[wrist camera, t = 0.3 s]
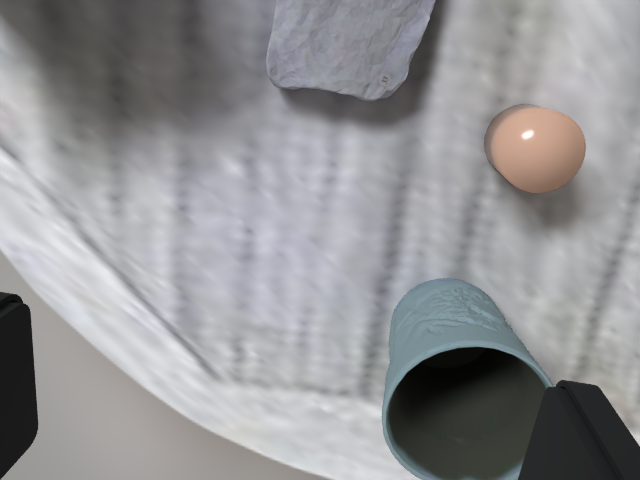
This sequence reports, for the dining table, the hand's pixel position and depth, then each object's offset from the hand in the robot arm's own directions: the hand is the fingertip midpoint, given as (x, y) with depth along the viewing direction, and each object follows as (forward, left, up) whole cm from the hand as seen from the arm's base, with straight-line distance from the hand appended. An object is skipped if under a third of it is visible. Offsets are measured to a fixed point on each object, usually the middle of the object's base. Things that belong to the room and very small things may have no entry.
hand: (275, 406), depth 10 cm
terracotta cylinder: (-3, +11, -31) cm, 33 cm away
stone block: (-9, -2, -31) cm, 32 cm away
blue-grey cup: (+12, +10, -31) cm, 34 cm away
